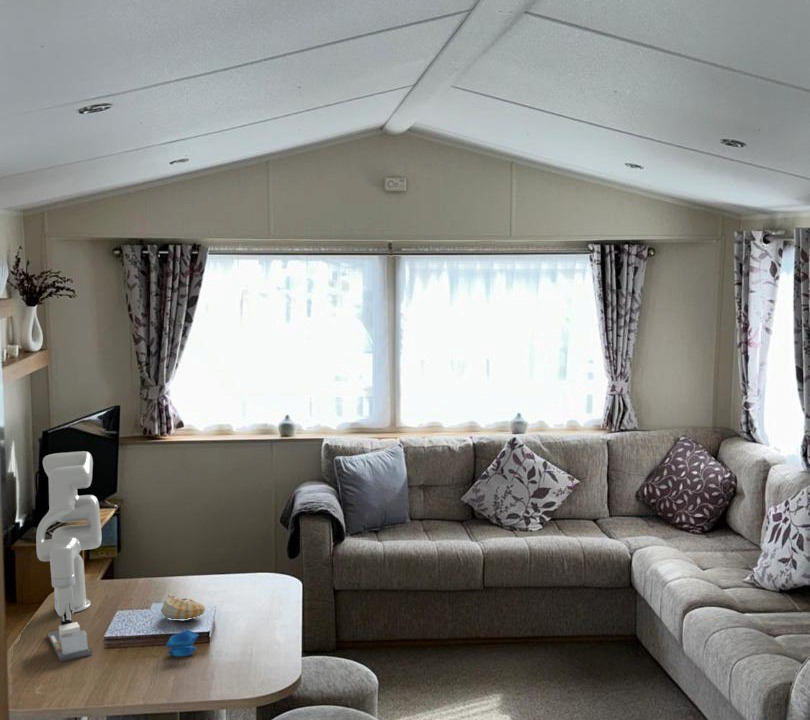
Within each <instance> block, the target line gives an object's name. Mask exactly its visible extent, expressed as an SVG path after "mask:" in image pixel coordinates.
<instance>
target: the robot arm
mask: <svg viewBox="0 0 810 720" xmlns="http://www.w3.org/2000/svg"><path fill="white" fill-rule="evenodd" d="M93 460H94V459H93V456H92V454H91V453H90V452H89V451H84V450H82V451H69V452H58V453H57V452H56V453H52V454H48V455H45V456H44V457H43V459H42V466H43V469H44V472H45V474H46V475H47V477H48V506H49V509H48V511H47V513H46V514H45V515H44V516H43V517H42V519H41V520H40V522H39V523H38V526H37V529H36V534H35V535H36V536H35V538H36V540H35V541H36V544H35V545H36V555H37V559H38V560H39V561H41V562H49V564H50V578H51V586H52V588H54V590H53V592H54V609H55V611H56V613H57V615H58V616H59V617H60V619H61V620H60V623H61V624H60V625H65V624H69V623H73V621H72V615H73V614H74V613H77V612H82V611H84V610H87V609H88V608H90V607H91V605H92V603H91V600H89V599H88V598H87V595H86V593H87V592H86V583H85V581H86V577H85V566H84V565H85V564H84V560H83V558H82V556H81V555H80V553H81V551H86V550H93V549H97V548H99V547H100V546H101V544H102V525H101V513H100V511H101V509H100V502H99V500H98V498H97V496H95V495H93V494H84V495H83V494H82V495H78V489H80V490H81V489H87V488H89V487H90V486H91V484H92V481H93V468H94V467H93V466H94V461H93ZM55 522H59V523H73V522H74V523H75V522H76V523H77V522H87V523H83V524H82V523H81V524H73V525H65V526H60V527H57V528H56V529H55V530H53V532H52V534H51V535H52V536H51V538H50V539H49V538H48V539H46V533H47V532H46V531H47V530H48V528H49V527H51V525H53V524H54V523H55Z"/></svg>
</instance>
